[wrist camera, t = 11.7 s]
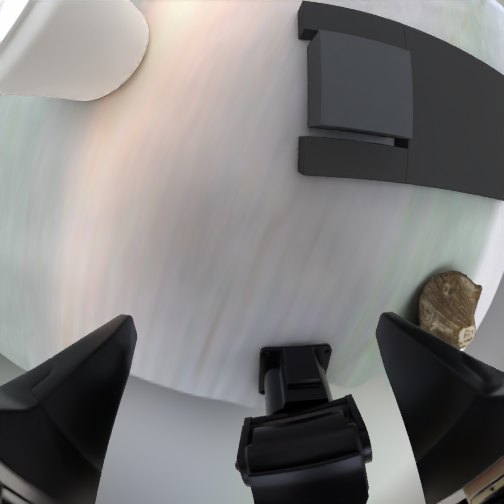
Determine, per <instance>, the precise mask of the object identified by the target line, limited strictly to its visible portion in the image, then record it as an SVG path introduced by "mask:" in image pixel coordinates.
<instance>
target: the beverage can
mask: <svg viewBox="0 0 504 504" xmlns="http://www.w3.org/2000/svg"><path fill="white" fill-rule="evenodd" d="M148 39H149V28H148V23H147V21H146V19H145V17H144V15H143V14H142V13H141V12H140V11H139V10H138V9H137V8H136V7H135V5H134V4H133V3H132V2H131V1H130V0H0V95H24V96H39V97H50V98H60V99H68V100H76V101H91V100H95V99H98V98H101V97H103V96H105V95H107V94H109V93H111V92H112V91H114V90H115V89H117V88H118V87H119V86H121V85H122V84H123V83H124V82H125V81H126V80H127V79H128V78H129V77H130V76H131V75H132V74H133V72H134V71H135V70H136V68H137V67H138V65H139V64H140V62H141V60H142V58H143V56H144V54H145V51H146V48H147V45H148Z"/></svg>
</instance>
